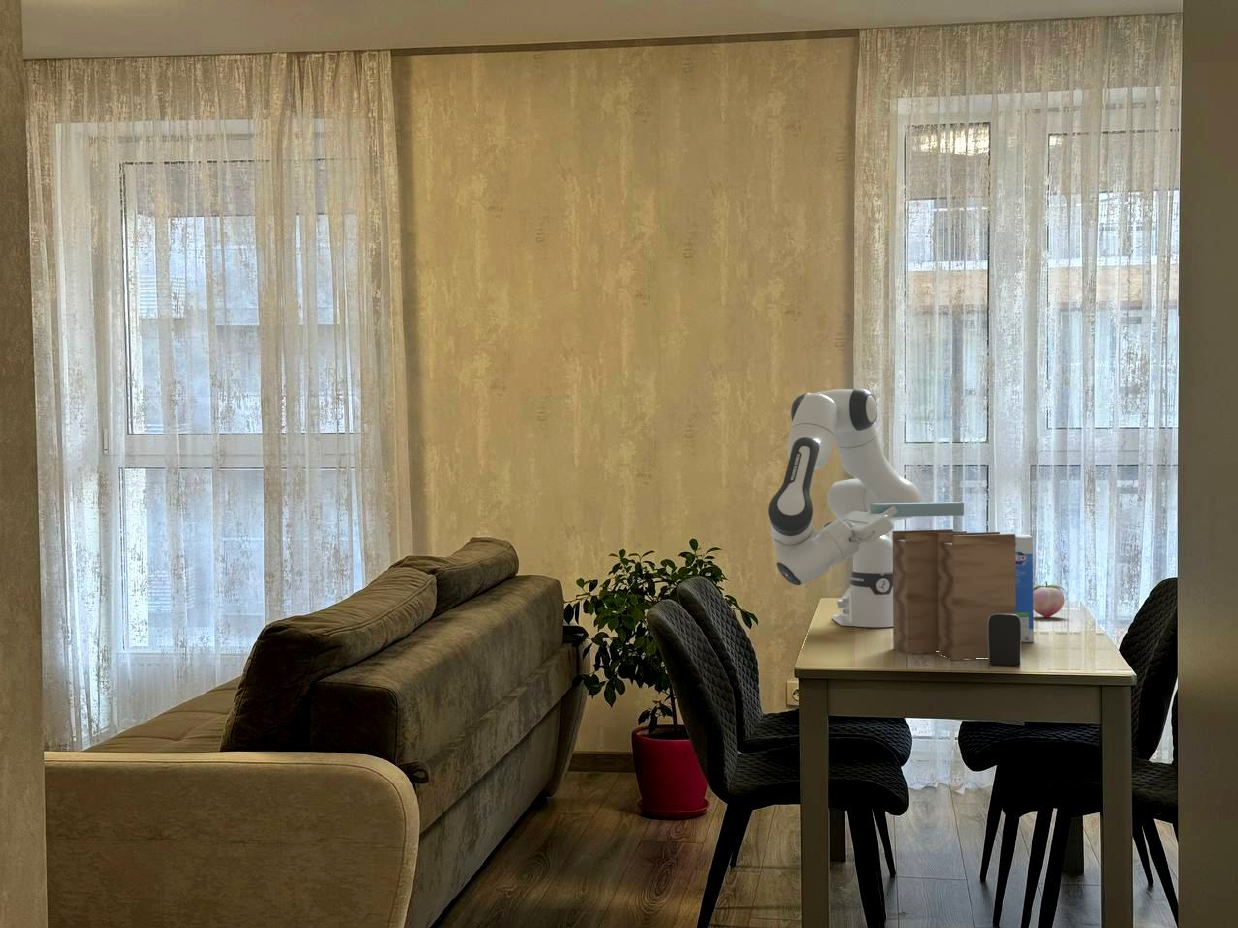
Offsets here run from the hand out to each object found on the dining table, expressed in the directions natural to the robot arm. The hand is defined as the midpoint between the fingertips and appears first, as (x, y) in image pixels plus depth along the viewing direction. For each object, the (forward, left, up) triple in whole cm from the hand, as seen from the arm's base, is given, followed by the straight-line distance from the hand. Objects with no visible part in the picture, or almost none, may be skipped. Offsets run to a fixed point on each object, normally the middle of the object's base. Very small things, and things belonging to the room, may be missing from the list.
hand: (890, 508), depth 298 cm
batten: (0, +7, -2) cm, 7 cm away
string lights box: (-8, +33, -34) cm, 48 cm away
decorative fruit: (-40, +63, -34) cm, 82 cm away
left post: (0, +10, -34) cm, 35 cm away
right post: (+12, +16, -34) cm, 39 cm away
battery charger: (+23, +16, -34) cm, 44 cm away
